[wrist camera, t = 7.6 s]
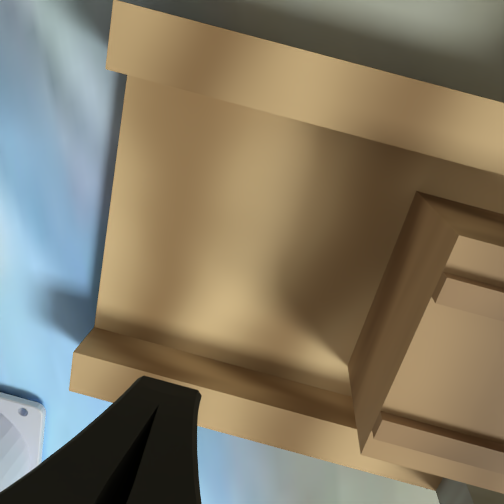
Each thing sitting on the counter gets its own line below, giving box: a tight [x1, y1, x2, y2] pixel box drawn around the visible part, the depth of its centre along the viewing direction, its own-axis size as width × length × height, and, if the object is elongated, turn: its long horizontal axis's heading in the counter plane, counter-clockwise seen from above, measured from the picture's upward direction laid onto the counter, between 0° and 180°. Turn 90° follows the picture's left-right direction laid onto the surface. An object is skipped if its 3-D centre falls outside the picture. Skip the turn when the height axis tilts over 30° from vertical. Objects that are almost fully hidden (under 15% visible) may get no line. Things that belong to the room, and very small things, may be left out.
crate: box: [348, 191, 504, 494], centre depth 16 cm, size 6×8×5 cm
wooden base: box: [69, 0, 504, 504], centre depth 15 cm, size 19×19×7 cm
